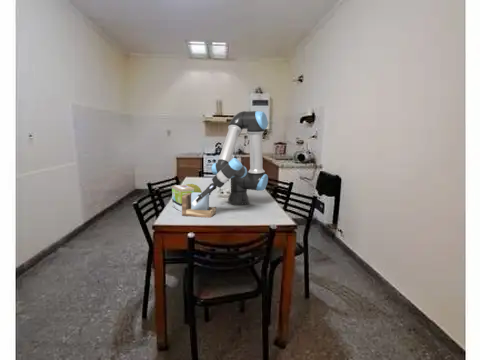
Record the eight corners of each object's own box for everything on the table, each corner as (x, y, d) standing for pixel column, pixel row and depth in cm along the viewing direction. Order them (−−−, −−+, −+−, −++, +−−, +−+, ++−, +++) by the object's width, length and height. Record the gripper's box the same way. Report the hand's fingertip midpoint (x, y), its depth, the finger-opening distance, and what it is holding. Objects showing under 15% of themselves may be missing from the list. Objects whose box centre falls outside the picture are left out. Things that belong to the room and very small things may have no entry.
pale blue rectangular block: (193, 211, 210) (193, 192, 208) (209, 212, 208) (209, 193, 206) (191, 212, 205) (191, 193, 203) (207, 213, 203) (207, 194, 202)
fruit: (194, 206, 227) (183, 187, 224) (182, 210, 236) (171, 192, 234) (208, 195, 238) (198, 177, 236) (196, 200, 248) (186, 182, 246)
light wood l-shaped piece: (188, 211, 214) (188, 192, 212) (215, 212, 211) (216, 194, 209) (182, 215, 203) (181, 196, 201) (210, 217, 199) (210, 197, 197)
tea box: (171, 207, 225) (171, 185, 223) (185, 205, 230) (185, 184, 228) (180, 211, 212) (180, 188, 210) (194, 210, 218) (194, 187, 215)
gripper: (219, 187, 189) (194, 211, 194) (229, 180, 213) (206, 202, 218) (210, 177, 189) (185, 201, 194) (221, 172, 213) (198, 194, 218)
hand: (196, 202), depth 206 cm, fingers open, 13 cm apart
